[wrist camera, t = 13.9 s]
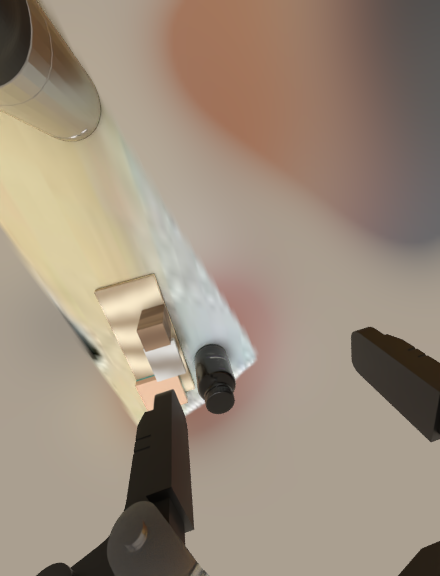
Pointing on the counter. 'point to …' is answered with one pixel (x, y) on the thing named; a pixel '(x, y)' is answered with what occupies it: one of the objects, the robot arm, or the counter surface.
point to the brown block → (159, 343)
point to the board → (135, 321)
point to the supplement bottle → (215, 378)
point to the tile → (159, 389)
